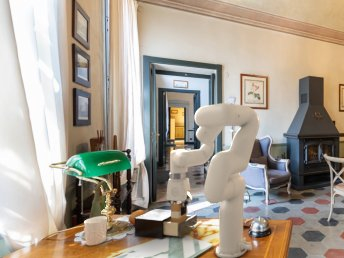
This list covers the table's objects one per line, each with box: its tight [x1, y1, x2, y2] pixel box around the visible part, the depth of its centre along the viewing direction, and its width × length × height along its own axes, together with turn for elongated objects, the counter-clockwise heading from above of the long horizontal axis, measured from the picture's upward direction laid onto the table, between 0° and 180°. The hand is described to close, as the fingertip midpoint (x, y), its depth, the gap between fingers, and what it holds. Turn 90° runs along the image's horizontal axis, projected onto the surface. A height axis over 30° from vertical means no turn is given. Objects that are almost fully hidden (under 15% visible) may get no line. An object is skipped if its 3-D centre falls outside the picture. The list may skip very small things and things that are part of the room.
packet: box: [170, 201, 188, 224], centre depth 111 cm, size 4×6×13 cm
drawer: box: [163, 214, 203, 239], centre depth 111 cm, size 18×12×6 cm, turn 78°
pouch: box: [88, 178, 108, 222], centre depth 115 cm, size 11×12×25 cm
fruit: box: [128, 209, 147, 226], centre depth 123 cm, size 8×8×8 cm
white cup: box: [83, 216, 108, 246], centre depth 103 cm, size 8×8×10 cm
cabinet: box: [134, 208, 171, 240], centre depth 114 cm, size 15×13×8 cm
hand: (179, 213), depth 111 cm, fingers closed on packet, 4 cm apart
